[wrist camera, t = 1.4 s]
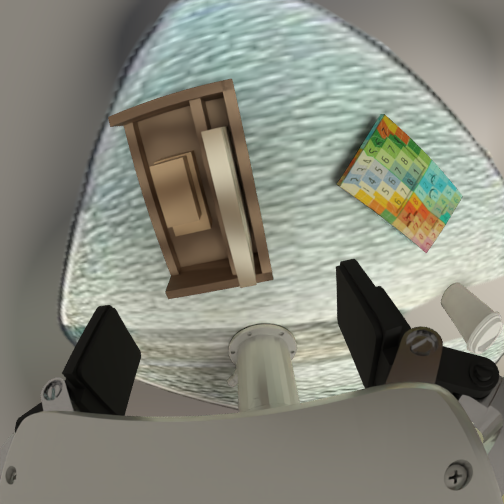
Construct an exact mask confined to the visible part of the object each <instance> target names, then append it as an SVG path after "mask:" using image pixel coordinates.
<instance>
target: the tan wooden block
mask: <svg viewBox="0 0 504 504" xmlns="http://www.w3.org/2000/svg"><path fill="white" fill-rule="evenodd" d="M149 168H150V171H151V175H152V178H153V182H154V185H155V189H156V192H157V195H158V199H159V202H160V205H161V208H162V212H163V215H164V218H165V221H166V224H167V227H168V228H170V227H173V230H174V233H175V236H180V235H185V234H189V233H194V232H198V231H203V230H207V229H211V226H212V218H211V214H210V210H209V207H208V203H207V199H206V195H205V191H204V187H203V183H202V180H201V176H200V172H199V168H198V164H197V160H196V156H195V152H194V150H192V151H188V152H185V153H181V154H177V155H174V156H170V157H167V158H163V159H160V160H158V161H156V162H154V165H152V166H150V167H149Z"/></svg>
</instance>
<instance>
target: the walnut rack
mask: <svg viewBox="0 0 504 504" xmlns="http://www.w3.org/2000/svg"><path fill="white" fill-rule="evenodd" d="M108 119H109V123H110V127H114V126H124V128H125V133H126V137H127V141H128V144H129V148H130V152H131V156H132V159H133V163H134V167H135V170H136V174H137V177H138V180H139V184H140V187H141V190H142V194H143V197H144V200H145V203H146V206H147V210H148V213H149V216H150V219H151V222H152V225H153V228H154V230H155V233H156V236H157V239H158V242H159V245H160V248H161V250H162V253H163V256H164V258H165V261H166V264H167V266H168V269H169V272H170V274H171V278H170V280H169V283H168V286H167V288H166V291H165V292H166V295H167V297H168V299H172V298H178V297H184V296H189V295H195V294H201V293H206V292H212V291H217V290H223V289H228V288H233V287H239V286H240V284H239V280H238V277H237V273H236V269H235V265H234V262H233V258H232V254H231V250H230V246H229V242H228V239H227V235H226V231H225V227H224V223H223V219H222V215H221V211H220V207H219V203H218V199H217V195H216V191H215V187H214V183H213V179H212V175H211V171H210V167H209V163H208V159H207V154H206V150H205V146H204V142H203V138H202V133H201V132H203V131H207V130H211V129H216V128H220V127H226V126H227V127H228V132H229V136H230V141H231V145H232V150H233V154H234V159H235V163H236V168H237V172H238V177H239V181H240V186H241V190H242V195H243V199H244V204H245V208H246V213H247V218H248V222H249V227H250V234H251V242H252V251H253V259H254V267H255V276H256V283H259V282H264V281H269V280H273V275H272V269H271V264H270V259H269V254H268V249H267V243H266V238H265V233H264V228H263V223H262V218H261V213H260V208H259V203H258V198H257V193H256V188H255V183H254V179H253V174H252V169H251V164H250V159H249V155H248V150H247V145H246V140H245V136H244V131H243V126H242V122H241V117H240V112H239V108H238V103H237V99H236V94H235V90H234V85H233V81H232V79H228V80H223V81H219V82H214V83H210V84H206V85H202V86H198V87H194V88H190V89H187V90H183V91H180V92H176V93H173V94H170V95H166V96H163V97H160V98H157V99H154V100H151V101H148V102H146V103H143V104H140V105H137V106H135V107H132V108H129V109H127V110H124V111H122V112H119V113H117V114H114V115H112V116H110V117H108ZM192 150H194V152H195V156H196V160H197V164H198V168H199V172H200V176H201V180H202V183H203V187H204V191H205V195H206V199H207V203H208V207H209V210H210V214H211V218H212V226H211V229H207V230H203V231H198V232H194V233H189V234H185V235H180V236H175V233H174V230H173V227H170V228H168V227H167V224H166V221H165V218H164V215H163V212H162V208H161V205H160V202H159V199H158V195H157V192H156V189H155V185H154V182H153V178H152V175H151V171H150V168H149V167H150V166H152V165H154V162H156V161H158V160H160V159H163V158H167V157H170V156H174V155H177V154H181V153H185V152H188V151H192Z"/></svg>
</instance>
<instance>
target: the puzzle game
mask: <svg viewBox="0 0 504 504" xmlns="http://www.w3.org/2000/svg"><path fill="white" fill-rule="evenodd" d="M337 185H338V186H340V187H341V188H343V189H344V190H346V191H347V192H348V193H350V194H351V195H353V196H354V197H355V198H357V199H358V200H360V201H361V202H362V203H364V204H365V205H366V206H368V207H369V208H371V209H372V210H373V211H375V212H376V213H377V214H379V215H380V216H381V217H382V218H384V219H385V220H386V221H388V222H389V223H390V224H391V225H393V226H394V227H395V228H397V229H398V230H399V231H400V232H402V233H403V234H404V235H405V236H406V237H408V238H409V239H410V240H411V241H412V242H414V243H415V244H416V245H417V246H418V247H420V248H421V249H422V250H423V251H424V252H425V253H427V252H428V250H429V249H430V247H431V246H432V244H433V243H434V242H435V240H436V239H437V237H438V236H439V234H440V233H441V231H442V229H443V228H444V226H445V225H446V223H447V222H448V220H449V218H450V217H451V215H452V214H453V212H454V210H455V209H456V207H457V205H458V203H459V202H460V200H461V198H462V197H463V196H462V195H461V193H460V192H459V191H458V190H457V188H456V187H455V186H454V185H453V184H452V182H451V181H450V180H449V179H448V178H447V176H446V175H445V174H444V173H443V172H442V171H441V170H440V168H439V167H438V166H437V165H436V164H435V163H434V162H433V161H432V160H431V159H430V157H429V156H428V155H427V154H426V153H425V152H424V151H423V150H422V149H421V148H420V147H419V146H418V145H417V144H416V143H415V142H414V141H413V140H412V139H411V138H410V137H409V136H408V135H407V134H406V133H405V132H404V131H402V130H401V129H400V128H399V127H398V126H397V125H396V124H395V123H394V122H393V121H392V120H390V119H389V118H388V117H387V116H386V115H385V114H381V115H380V116H379V118H378V120H377V121H376V123H375V124H374V126H373V128H372V129H371V131H370V133H369V134H368V136H367V137H366V139H365V141H364V142H363V144H362V145H361V147H360V149H359V150H358V152H357V153H356V155H355V157H354V158H353V160H352V161H351V163H350V164H349V166H348V168H347V169H346V171H345V172H344V174H343V175H342V177H341V179H340V180H339V182H338V183H337Z"/></svg>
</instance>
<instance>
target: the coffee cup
mask: <svg viewBox="0 0 504 504" xmlns="http://www.w3.org/2000/svg"><path fill="white" fill-rule="evenodd" d="M441 305H442V307H443V308H444V309H445V311H446V312H447V314H448V315H449V317H450V318H451V320H452V321H453V323H454V324H455V326H456V327H457V329H458V331H459V332H460V334H461V335H462V337H463V339H464V340H465V342H466V344H467V349H468V350H469V351H470V352H473V353H476V354H481V353H483V352H484V351H486V350H487V349H488V348H489V347H490V346H491V345H492V344H493V343H494V342H495V341H496V339H497V338H498V336H499V335H500V333H501V330H502V327H503V323H502V319H501V316H500V314H499V312H494V311H493V310H492V309H491V308H489V307H488V306H487V305H486V304H485V303H483V302H482V301H481V300H480V299H479V298H477V297H476V296H475V295H474V294H473V293H471V292H470V291H469V290H468V289H466V288H465V287H464V286H462V285H461V284H460V283H455V284H453V285H451V286H450V287H449V288H448V289H447V290H446V291H445V293H444V294H443V296H442V299H441Z"/></svg>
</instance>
